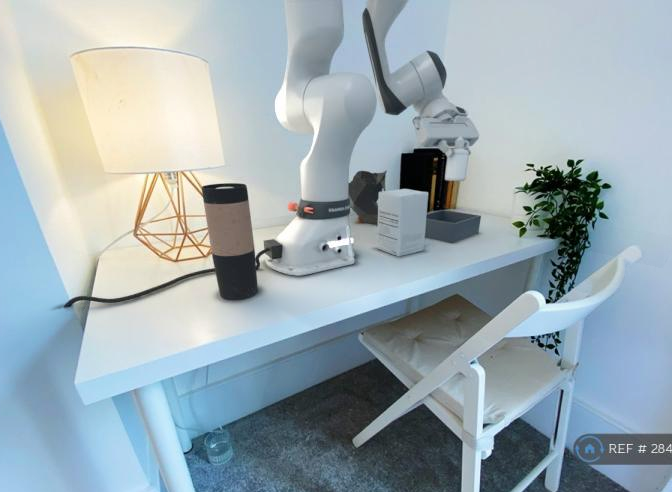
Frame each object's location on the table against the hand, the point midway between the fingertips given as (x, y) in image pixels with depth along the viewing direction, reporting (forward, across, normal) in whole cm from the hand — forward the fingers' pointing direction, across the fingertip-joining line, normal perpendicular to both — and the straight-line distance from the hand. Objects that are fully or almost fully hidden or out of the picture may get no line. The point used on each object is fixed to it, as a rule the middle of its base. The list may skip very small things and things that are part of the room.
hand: (459, 155), depth 94 cm
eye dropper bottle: (+4, 0, +5) cm, 7 cm away
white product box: (+19, -22, +13) cm, 32 cm away
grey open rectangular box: (+15, 0, +17) cm, 22 cm away
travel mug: (+23, -66, +10) cm, 71 cm away
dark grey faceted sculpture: (-3, -11, +35) cm, 37 cm away
